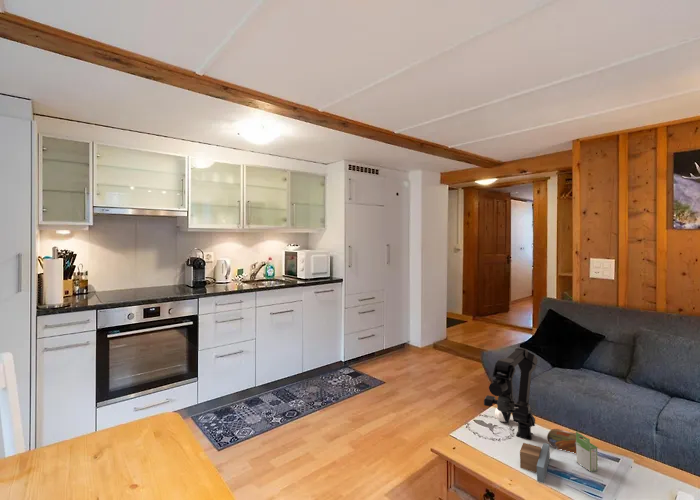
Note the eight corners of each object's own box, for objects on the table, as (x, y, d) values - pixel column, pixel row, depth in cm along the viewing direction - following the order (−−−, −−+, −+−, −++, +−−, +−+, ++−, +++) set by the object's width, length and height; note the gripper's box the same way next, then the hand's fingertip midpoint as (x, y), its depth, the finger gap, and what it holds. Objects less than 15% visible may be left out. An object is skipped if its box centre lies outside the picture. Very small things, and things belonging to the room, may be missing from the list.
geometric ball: (499, 424, 194) (493, 408, 198) (514, 421, 191) (508, 405, 196) (496, 422, 188) (491, 406, 193) (512, 419, 185) (506, 403, 190)
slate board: (543, 456, 159) (543, 442, 159) (549, 458, 157) (549, 444, 157) (537, 481, 142) (536, 465, 142) (543, 483, 141) (543, 467, 141)
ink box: (598, 471, 148) (597, 438, 148) (590, 472, 147) (589, 439, 147) (584, 461, 154) (583, 430, 154) (576, 462, 154) (575, 431, 154)
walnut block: (523, 458, 158) (523, 442, 158) (541, 463, 154) (541, 447, 154) (520, 468, 151) (519, 451, 151) (539, 473, 147) (538, 456, 147)
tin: (547, 446, 167) (546, 428, 167) (548, 443, 169) (547, 425, 169) (586, 457, 157) (585, 437, 157) (586, 453, 160) (586, 434, 160)
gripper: (480, 391, 163) (481, 425, 163) (525, 399, 152) (527, 436, 152) (486, 382, 172) (487, 415, 172) (529, 390, 161) (530, 424, 162)
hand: (507, 422), depth 164 cm, fingers closed
